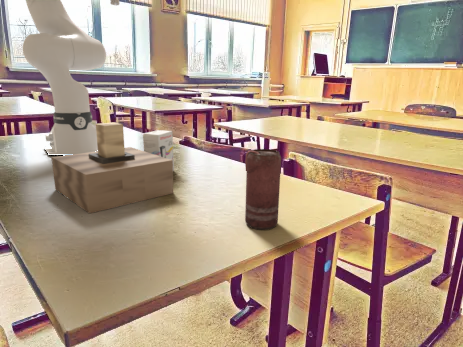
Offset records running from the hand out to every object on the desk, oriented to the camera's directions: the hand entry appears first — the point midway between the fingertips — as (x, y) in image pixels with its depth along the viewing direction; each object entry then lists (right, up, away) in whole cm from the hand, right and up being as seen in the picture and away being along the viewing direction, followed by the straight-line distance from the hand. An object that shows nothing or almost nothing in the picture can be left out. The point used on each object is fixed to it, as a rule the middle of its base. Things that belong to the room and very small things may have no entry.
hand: (100, 1), depth 91 cm
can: (+39, -53, -23) cm, 70 cm away
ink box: (+13, -44, +11) cm, 47 cm away
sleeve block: (+5, -48, -6) cm, 48 cm away
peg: (+5, -41, -7) cm, 42 cm away
